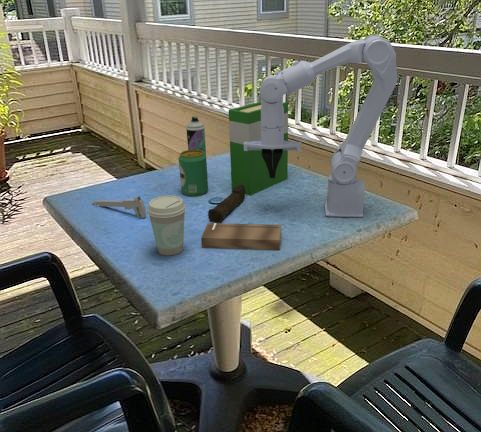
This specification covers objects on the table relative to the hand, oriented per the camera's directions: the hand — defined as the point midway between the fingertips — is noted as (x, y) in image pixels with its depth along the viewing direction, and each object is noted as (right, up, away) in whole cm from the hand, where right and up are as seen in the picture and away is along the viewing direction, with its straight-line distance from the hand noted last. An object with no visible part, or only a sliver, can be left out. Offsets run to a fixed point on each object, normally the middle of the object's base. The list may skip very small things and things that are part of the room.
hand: (272, 176), depth 127 cm
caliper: (-42, -9, +7) cm, 44 cm away
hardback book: (-2, -1, +22) cm, 22 cm away
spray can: (-22, +1, +28) cm, 35 cm away
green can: (-22, -3, +18) cm, 28 cm away
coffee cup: (-24, -18, -15) cm, 34 cm away
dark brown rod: (-12, -9, +6) cm, 16 cm away
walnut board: (-8, -16, -12) cm, 22 cm away
